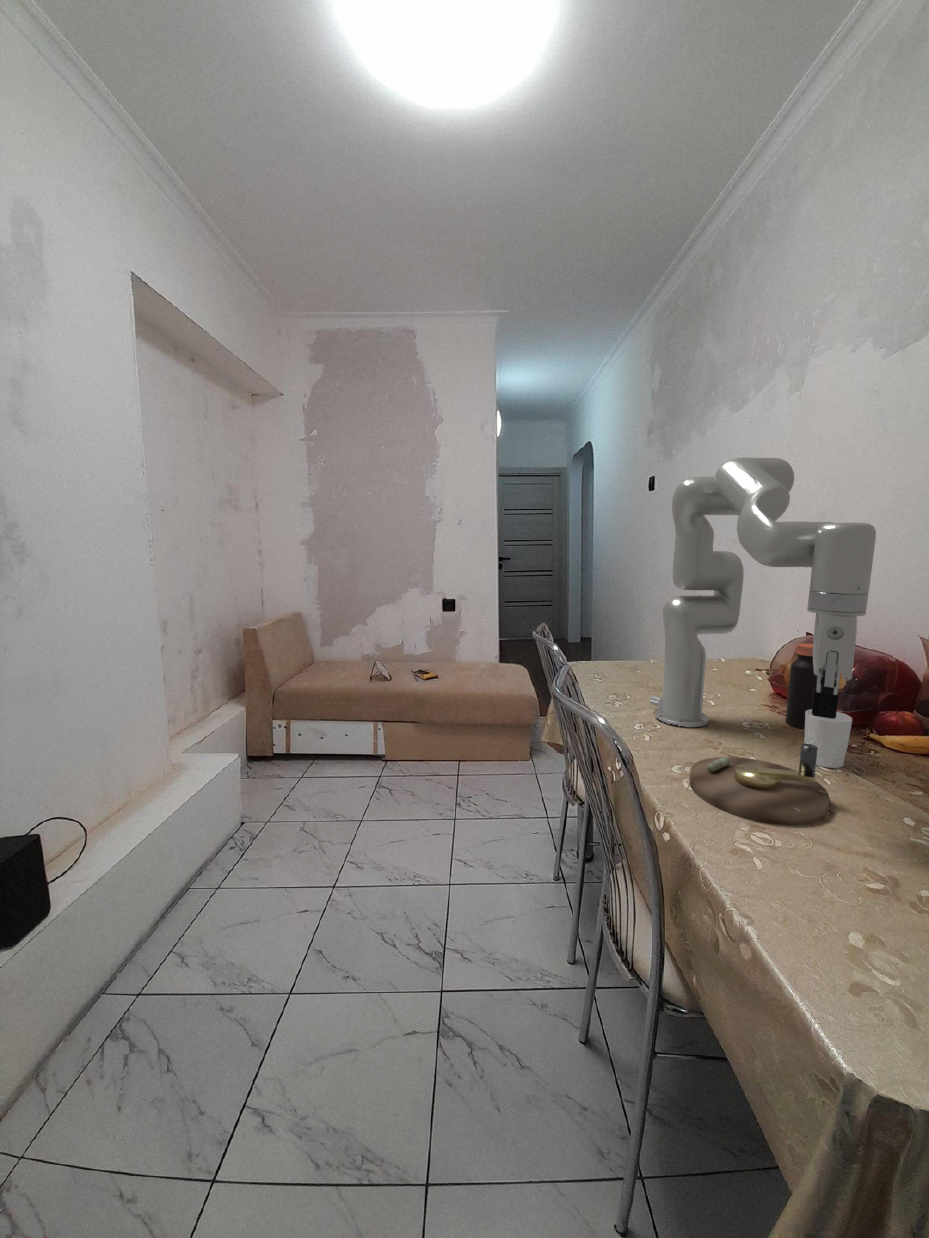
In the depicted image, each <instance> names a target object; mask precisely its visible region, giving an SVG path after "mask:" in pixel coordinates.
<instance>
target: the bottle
mask: <svg viewBox="0 0 929 1238" xmlns="http://www.w3.org/2000/svg"><path fill="white" fill-rule="evenodd" d="M795 654H796V656H797V659H795V660H794V661H793V662H791V664H790V669H789V680H788V681H789V682H788V689H787V691H788V692H787V703H786V714H785V722H786V724H787V725H789V726H791V727H794V728H797V729H800V730H801V729H803V730H805V712H806V711H807V710H810V709H812V705H813V696H814V689H816V684H817V676H816V675H815V674H814V668H813V643H798V644H797V645H796V653H795ZM816 690H817V689H816Z"/></svg>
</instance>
